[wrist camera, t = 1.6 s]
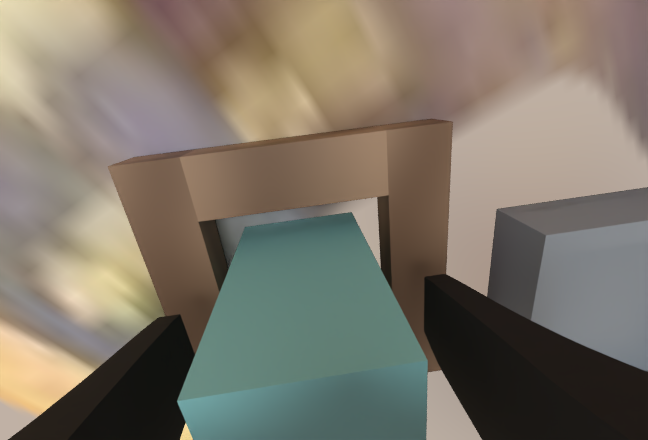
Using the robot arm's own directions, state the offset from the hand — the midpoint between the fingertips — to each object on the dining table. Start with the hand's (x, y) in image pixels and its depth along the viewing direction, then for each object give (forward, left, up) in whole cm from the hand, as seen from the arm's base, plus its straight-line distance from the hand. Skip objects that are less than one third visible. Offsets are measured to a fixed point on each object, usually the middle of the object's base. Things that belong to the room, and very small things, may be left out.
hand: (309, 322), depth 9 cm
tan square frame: (0, 0, -3) cm, 3 cm away
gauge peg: (0, 0, -3) cm, 3 cm away
